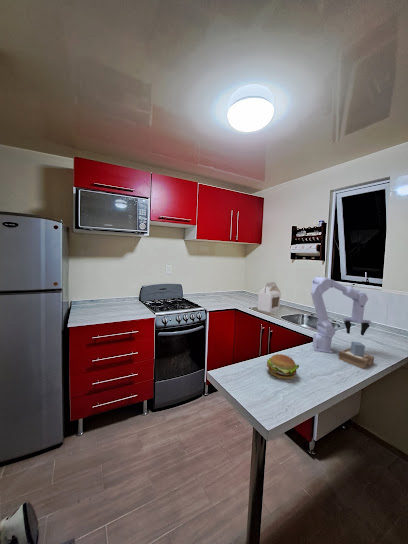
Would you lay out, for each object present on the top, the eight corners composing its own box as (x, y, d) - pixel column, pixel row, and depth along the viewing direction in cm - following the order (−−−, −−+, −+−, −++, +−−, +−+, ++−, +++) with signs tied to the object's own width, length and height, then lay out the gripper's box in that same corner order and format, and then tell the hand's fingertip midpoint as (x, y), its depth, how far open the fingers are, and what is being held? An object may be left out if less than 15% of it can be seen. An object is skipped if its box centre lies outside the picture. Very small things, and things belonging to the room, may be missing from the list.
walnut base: (363, 368, 115) (364, 361, 114) (338, 358, 125) (339, 351, 124) (373, 363, 121) (374, 356, 121) (349, 354, 131) (349, 347, 131)
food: (260, 372, 105) (261, 355, 104) (274, 363, 115) (276, 348, 114) (288, 385, 95) (290, 367, 95) (302, 374, 105) (303, 358, 105)
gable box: (269, 312, 220) (271, 284, 218) (257, 309, 229) (259, 282, 227) (279, 309, 236) (282, 282, 234) (267, 306, 245) (270, 281, 243)
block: (354, 355, 121) (355, 344, 120) (350, 351, 125) (351, 341, 125) (363, 356, 120) (364, 345, 119) (359, 353, 124) (360, 342, 124)
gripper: (347, 312, 133) (344, 334, 134) (374, 315, 130) (371, 338, 131) (342, 309, 140) (339, 330, 141) (368, 312, 137) (366, 334, 138)
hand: (355, 334), depth 137 cm, fingers open, 7 cm apart
